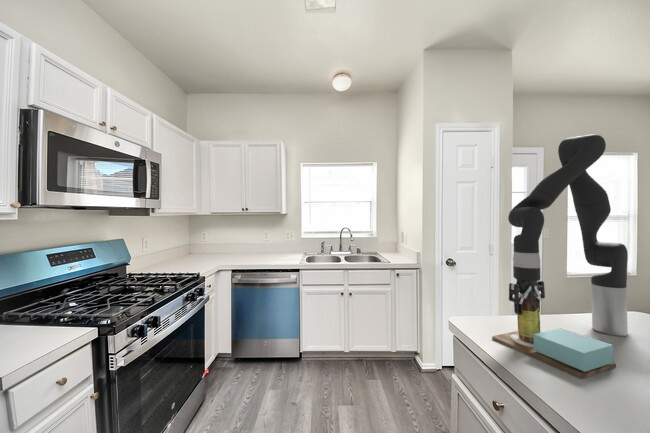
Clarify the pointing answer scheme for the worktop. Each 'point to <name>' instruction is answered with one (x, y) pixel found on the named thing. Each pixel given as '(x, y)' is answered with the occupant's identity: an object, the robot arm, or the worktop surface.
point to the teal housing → (573, 349)
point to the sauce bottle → (529, 317)
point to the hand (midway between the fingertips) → (527, 312)
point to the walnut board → (528, 348)
